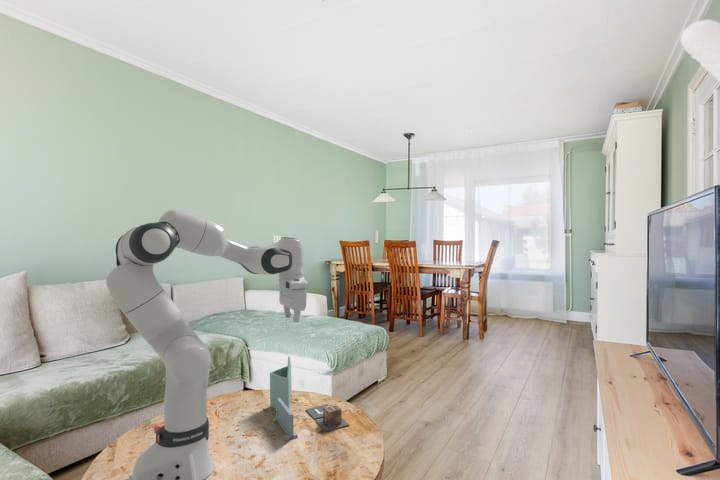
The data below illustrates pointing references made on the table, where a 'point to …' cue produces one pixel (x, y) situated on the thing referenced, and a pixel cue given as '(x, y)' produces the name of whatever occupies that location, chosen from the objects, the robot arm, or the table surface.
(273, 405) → the planter
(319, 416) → the pad
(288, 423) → the screen
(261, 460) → the table surface
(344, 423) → the pad
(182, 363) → the robot arm
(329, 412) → the cube
